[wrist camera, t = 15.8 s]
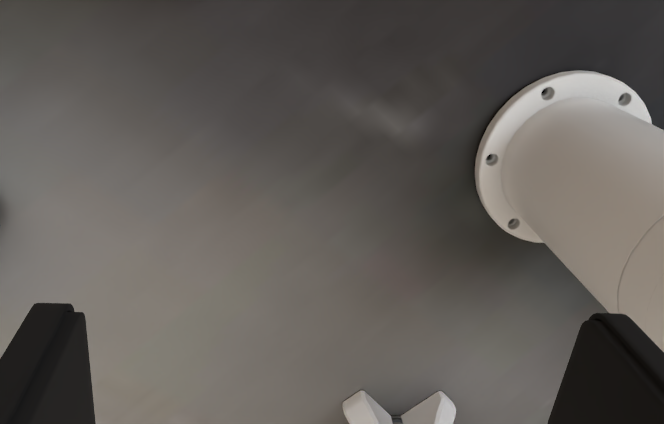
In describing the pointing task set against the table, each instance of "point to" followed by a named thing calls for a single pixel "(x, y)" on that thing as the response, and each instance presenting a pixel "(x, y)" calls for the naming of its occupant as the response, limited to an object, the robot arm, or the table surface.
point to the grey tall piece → (422, 420)
